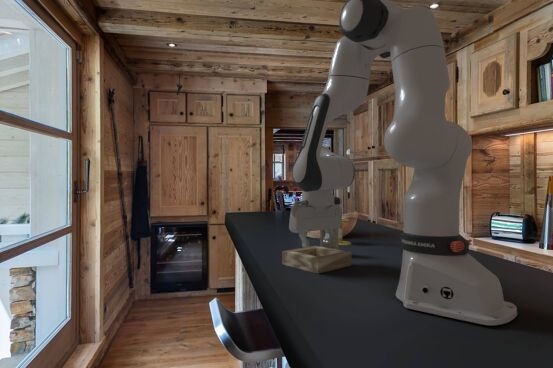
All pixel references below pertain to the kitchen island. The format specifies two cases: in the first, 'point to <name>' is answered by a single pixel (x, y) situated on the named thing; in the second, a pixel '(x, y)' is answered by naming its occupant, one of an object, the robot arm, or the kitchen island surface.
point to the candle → (339, 194)
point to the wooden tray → (317, 259)
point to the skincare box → (333, 240)
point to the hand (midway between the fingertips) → (316, 245)
